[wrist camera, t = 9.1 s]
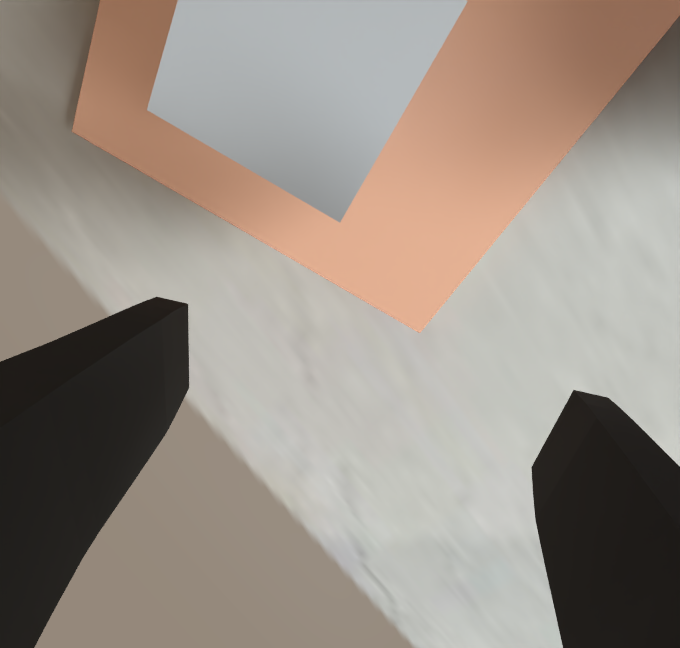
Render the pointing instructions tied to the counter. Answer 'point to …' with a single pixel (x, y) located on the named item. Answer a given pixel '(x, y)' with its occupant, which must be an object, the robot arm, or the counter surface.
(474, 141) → the terracotta tile
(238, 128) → the slate block
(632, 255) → the counter surface
